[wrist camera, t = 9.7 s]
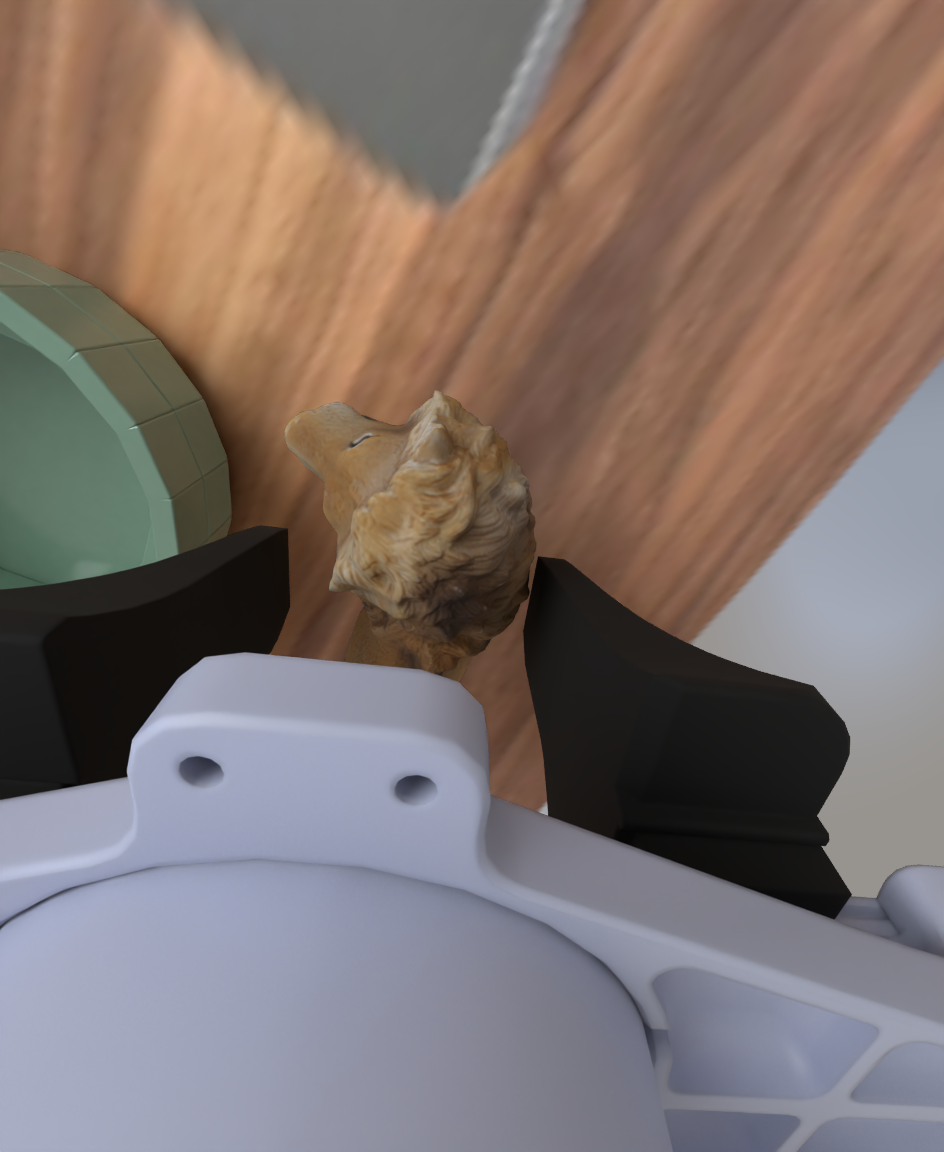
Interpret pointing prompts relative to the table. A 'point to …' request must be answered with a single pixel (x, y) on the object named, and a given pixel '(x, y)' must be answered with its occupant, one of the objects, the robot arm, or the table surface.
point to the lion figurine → (421, 530)
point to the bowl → (96, 436)
